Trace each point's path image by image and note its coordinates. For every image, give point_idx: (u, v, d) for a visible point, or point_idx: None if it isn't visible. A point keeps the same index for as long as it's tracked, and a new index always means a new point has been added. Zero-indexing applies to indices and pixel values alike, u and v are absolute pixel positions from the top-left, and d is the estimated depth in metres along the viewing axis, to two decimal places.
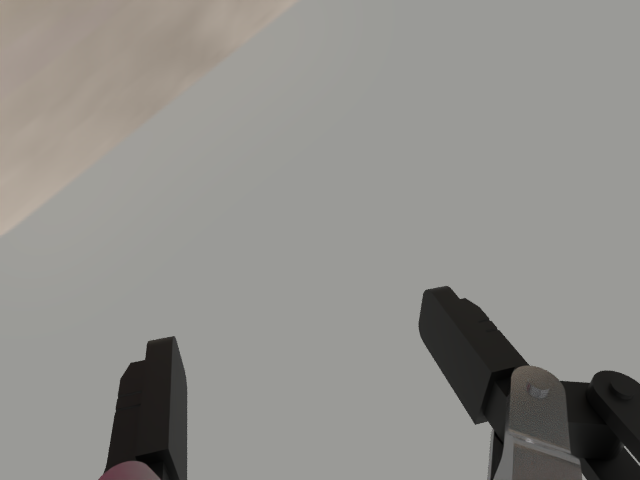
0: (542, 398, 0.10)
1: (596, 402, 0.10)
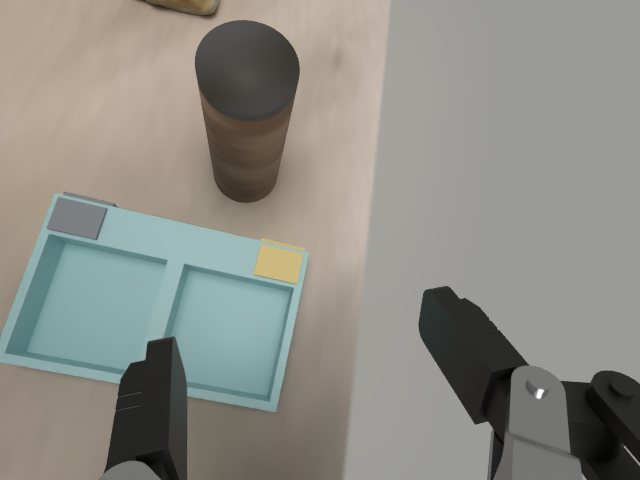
0: (542, 398, 0.10)
1: (596, 402, 0.10)
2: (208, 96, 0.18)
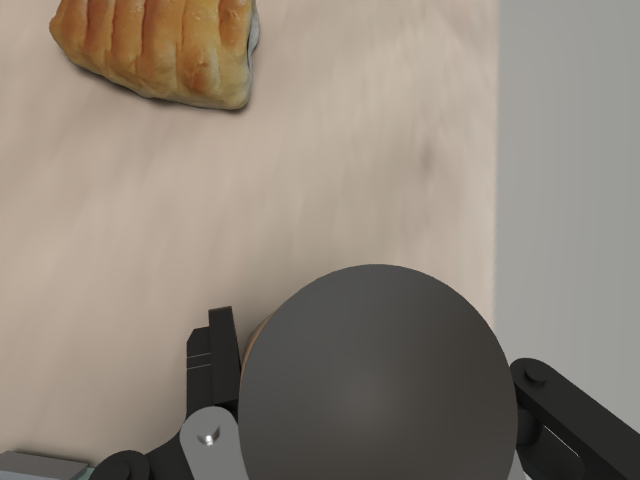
0: None
1: (517, 394, 0.10)
2: None
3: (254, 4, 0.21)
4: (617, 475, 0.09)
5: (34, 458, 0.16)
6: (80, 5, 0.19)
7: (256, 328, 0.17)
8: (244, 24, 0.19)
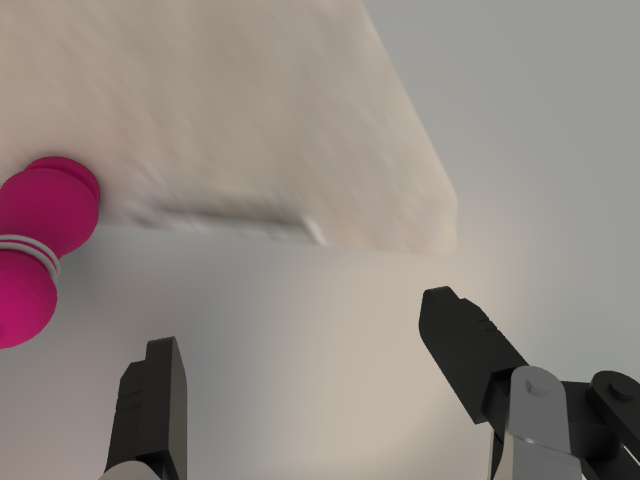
0: (542, 398, 0.10)
1: (596, 402, 0.10)
2: None
3: None
4: None
5: None
6: None
7: None
8: None
